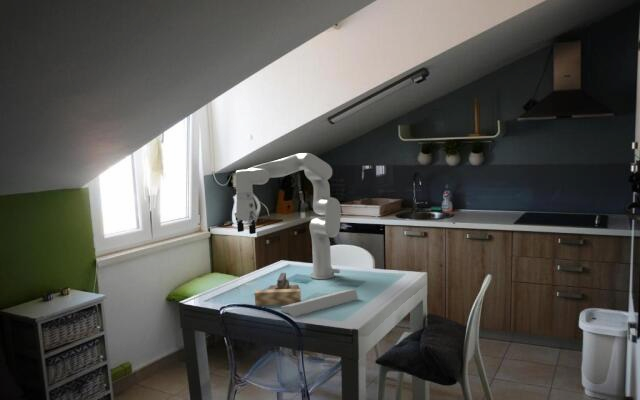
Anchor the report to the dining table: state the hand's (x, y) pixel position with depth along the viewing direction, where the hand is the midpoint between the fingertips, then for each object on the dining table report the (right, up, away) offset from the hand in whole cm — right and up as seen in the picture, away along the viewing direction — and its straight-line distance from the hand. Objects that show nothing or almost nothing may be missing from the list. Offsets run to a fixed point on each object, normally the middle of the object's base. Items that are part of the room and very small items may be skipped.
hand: (246, 232), depth 244 cm
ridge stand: (+17, -29, +5) cm, 34 cm away
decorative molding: (+35, -32, -16) cm, 49 cm away
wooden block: (+16, -31, -11) cm, 37 cm away
